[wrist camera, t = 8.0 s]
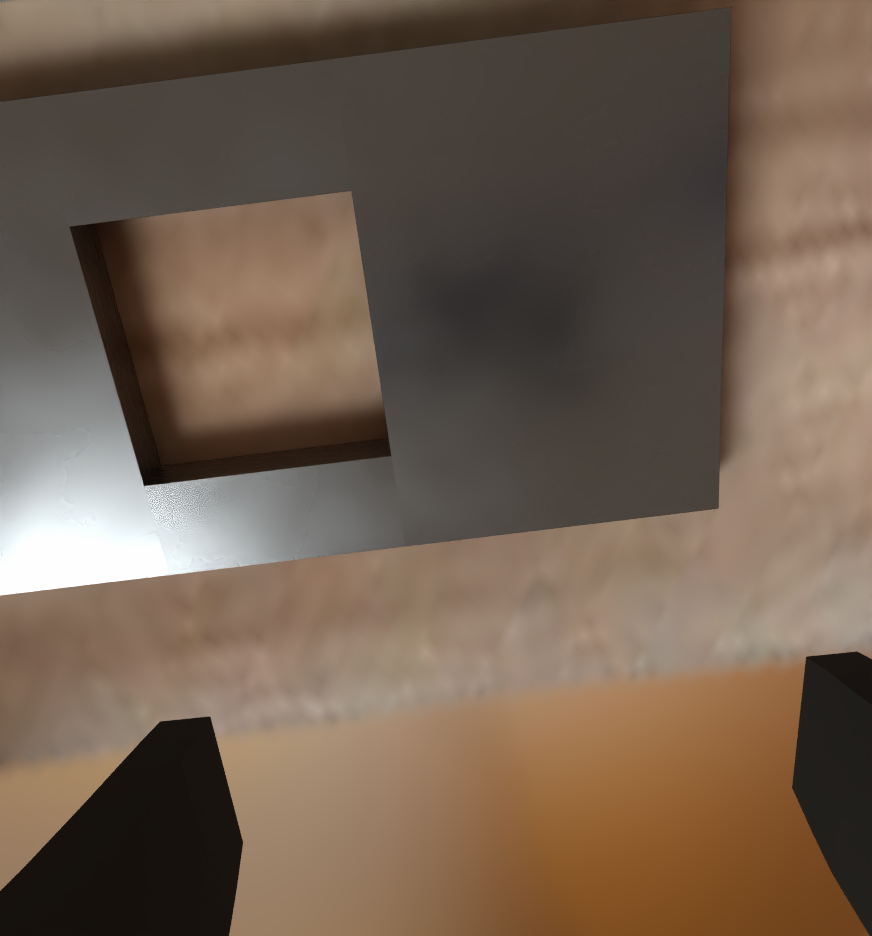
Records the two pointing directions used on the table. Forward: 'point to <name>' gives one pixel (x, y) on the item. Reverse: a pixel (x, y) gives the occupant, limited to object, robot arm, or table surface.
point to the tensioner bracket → (386, 297)
